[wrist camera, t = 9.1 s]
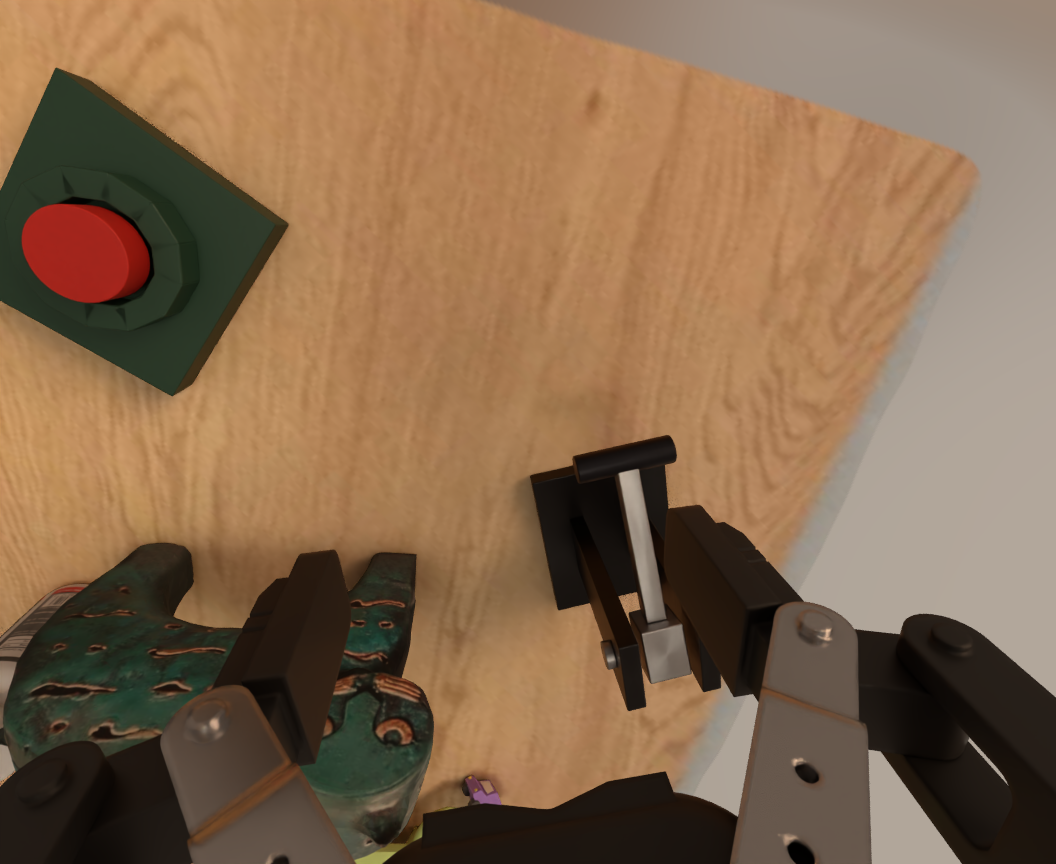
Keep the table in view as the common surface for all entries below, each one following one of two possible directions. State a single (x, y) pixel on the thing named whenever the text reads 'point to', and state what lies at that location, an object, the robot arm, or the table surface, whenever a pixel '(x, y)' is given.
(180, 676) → the ceramic cat
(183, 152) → the button block
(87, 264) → the button
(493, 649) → the table surface
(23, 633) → the pill bottle
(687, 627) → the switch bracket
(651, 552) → the lever
